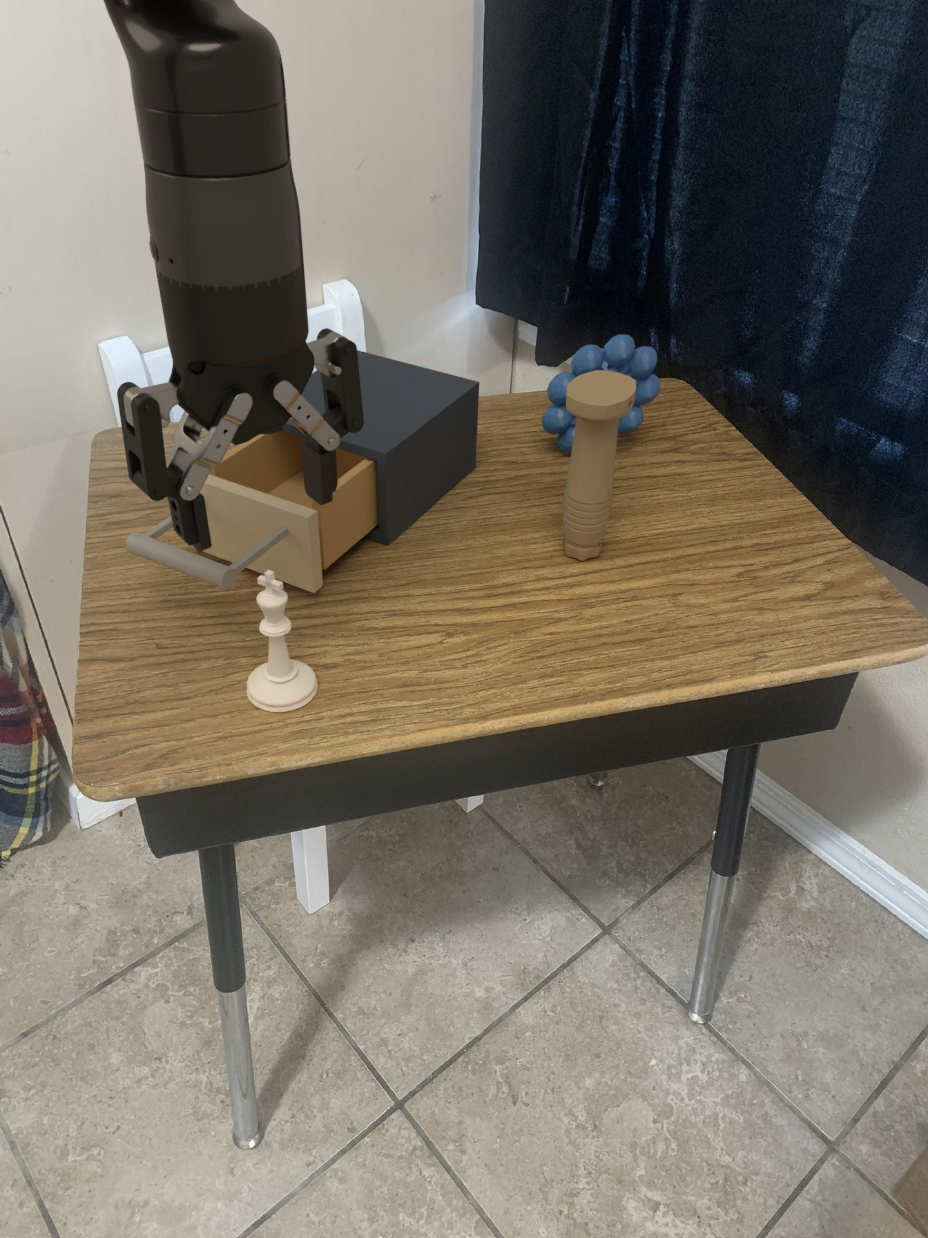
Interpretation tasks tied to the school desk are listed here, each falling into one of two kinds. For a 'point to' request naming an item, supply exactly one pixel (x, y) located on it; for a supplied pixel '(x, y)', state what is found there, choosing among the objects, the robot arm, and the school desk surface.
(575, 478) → the handle
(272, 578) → the chess piece
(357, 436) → the cabinet
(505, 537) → the school desk surface
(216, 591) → the school desk surface
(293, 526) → the drawer
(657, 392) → the grapes
